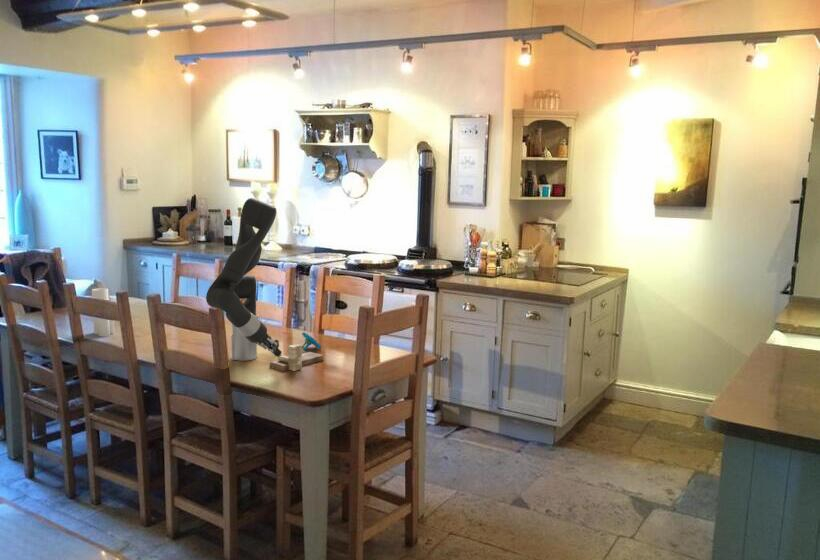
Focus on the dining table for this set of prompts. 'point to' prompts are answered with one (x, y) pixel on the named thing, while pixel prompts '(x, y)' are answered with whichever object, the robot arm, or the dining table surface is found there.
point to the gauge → (293, 357)
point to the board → (306, 359)
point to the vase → (102, 325)
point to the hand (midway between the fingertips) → (279, 354)
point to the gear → (310, 341)
